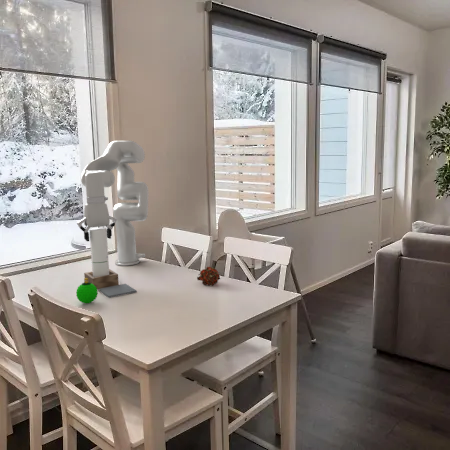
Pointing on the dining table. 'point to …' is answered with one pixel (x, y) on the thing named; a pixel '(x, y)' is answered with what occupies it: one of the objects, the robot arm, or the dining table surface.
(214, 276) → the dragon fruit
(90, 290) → the ornament
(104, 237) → the cylindrical container
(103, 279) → the box
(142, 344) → the dining table surface
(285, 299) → the dining table surface
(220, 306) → the dining table surface
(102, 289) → the mat
